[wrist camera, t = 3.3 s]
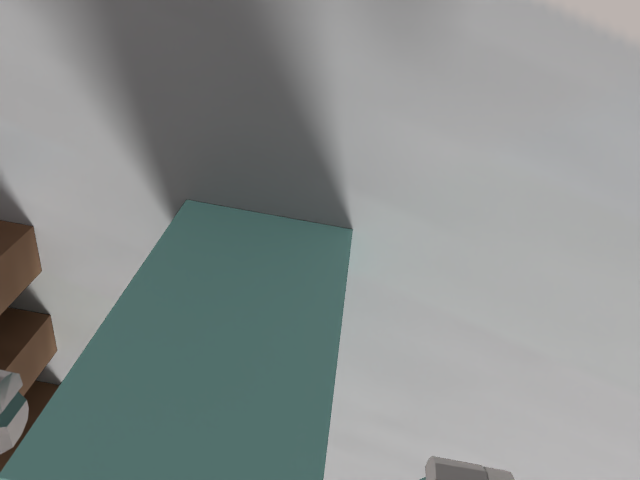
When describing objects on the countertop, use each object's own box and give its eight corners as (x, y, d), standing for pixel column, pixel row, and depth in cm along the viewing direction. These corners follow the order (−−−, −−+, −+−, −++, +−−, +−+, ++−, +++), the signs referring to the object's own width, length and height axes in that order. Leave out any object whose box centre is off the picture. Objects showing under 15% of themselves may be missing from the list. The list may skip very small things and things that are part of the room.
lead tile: (342, 277, 17) (302, 591, 9) (186, 248, 17) (18, 537, 9) (352, 229, 16) (316, 538, 8) (186, 199, 16) (-3, 476, 8)
